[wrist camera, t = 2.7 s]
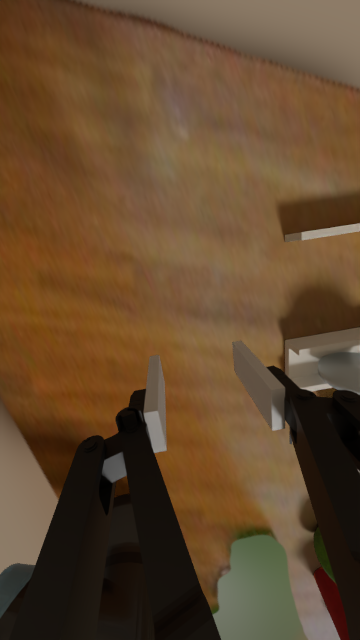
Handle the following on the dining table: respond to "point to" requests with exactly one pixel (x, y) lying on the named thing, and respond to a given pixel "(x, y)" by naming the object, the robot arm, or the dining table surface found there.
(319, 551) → the fruit
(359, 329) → the dish rack
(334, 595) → the coffee cup
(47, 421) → the dining table surface
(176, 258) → the dining table surface
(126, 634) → the robot arm
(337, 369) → the grey plate
